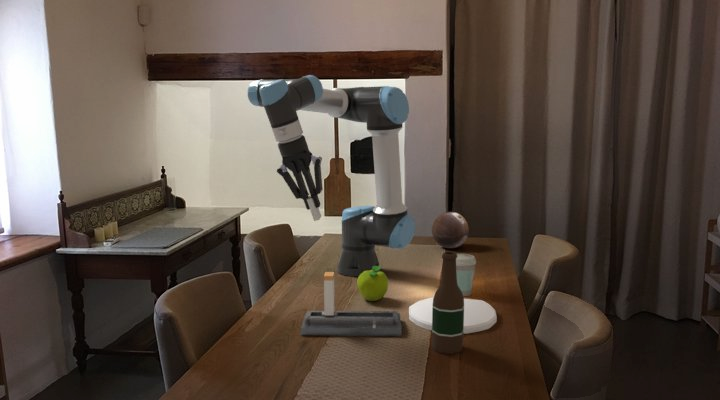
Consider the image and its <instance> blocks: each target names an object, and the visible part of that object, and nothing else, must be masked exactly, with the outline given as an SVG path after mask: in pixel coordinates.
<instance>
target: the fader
mask: <svg viewBox="0 0 720 400" xmlns="http://www.w3.org/2000/svg"><path fill="white" fill-rule="evenodd" d="M323 302H324V303H323V308H324V309H323V310H321V311H322V316H337V311H338V310H335V272H334V271H325V272H324V275H323Z"/></svg>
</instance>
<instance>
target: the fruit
mask: <svg viewBox="0 0 720 400" xmlns="http://www.w3.org/2000/svg"><path fill="white" fill-rule="evenodd" d="M381 268H382V266H381V265H380V266H373V267H372V269H373V270H369V271H364V272H363V273H361V274H360V275H359V276H357V277H358V278H357V280H356V286H357V289H358V292H359V293H360V295H361V296H362V297H363V299H365V300H366V301H369V302H375V301H379V300H381V299H382V298H384V296H385V295H386V293H387V291H388V288H389V281H388V277H387V275H386V274H385V272H384V271H381ZM379 269H380V271H378V270H379Z"/></svg>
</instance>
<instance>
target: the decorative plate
mask: <svg viewBox="0 0 720 400" xmlns="http://www.w3.org/2000/svg"><path fill="white" fill-rule="evenodd" d="M433 298H434V296H433V297H428V298H425V299H420V300H418V301H416V302H415V303H413V304H412V305H410V306H409V307H408V318H409V320H410V321H411V322H412V323H413V324H414V325H416V326H418V327H420V328H422V329H425V330H427V331H432V309H433ZM497 319H498V317H497V311H496V309H495V308H494V307H492V305H491V304H489V303H488V302H486V301H484V300H481V299H473V298H464V330H463V335H465V334H471V333H477V332H482V331H486V330H489V329H490V328H492V327H494V325H495V324H496V323H498V321H497Z"/></svg>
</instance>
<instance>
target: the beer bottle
mask: <svg viewBox="0 0 720 400" xmlns="http://www.w3.org/2000/svg"><path fill="white" fill-rule="evenodd" d="M457 254H458V253H456V252H453V251H444V252H443V253H442V255H441V259H442V264H441V265H442V266H441V278H440V285H439V286H438V288H437V290H436V291H435V292H434V296H433V297H434V298H433V309H432V330H431V347H432V350H434V351H436V352H437V353H439V354H446V355H454V354H458V353H461V351H462V349H463V345H464V334H463V330H464V299H465V296H463V294H462V291H461V290H460V288H459V287H458V284H457V273H456V258H457Z"/></svg>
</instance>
